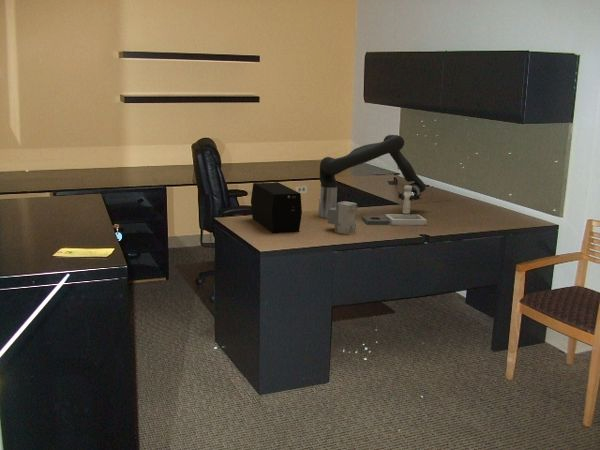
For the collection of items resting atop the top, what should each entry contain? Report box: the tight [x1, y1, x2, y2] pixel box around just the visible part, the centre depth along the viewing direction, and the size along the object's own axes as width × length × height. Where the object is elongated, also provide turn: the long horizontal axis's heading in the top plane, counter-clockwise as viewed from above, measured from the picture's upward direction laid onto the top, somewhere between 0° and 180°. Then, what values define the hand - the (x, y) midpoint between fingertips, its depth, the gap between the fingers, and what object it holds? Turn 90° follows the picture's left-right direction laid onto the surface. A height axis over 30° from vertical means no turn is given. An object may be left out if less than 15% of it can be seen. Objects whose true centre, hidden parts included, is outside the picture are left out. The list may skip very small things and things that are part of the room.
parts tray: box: [384, 213, 428, 226], centre depth 365 cm, size 20×14×3 cm
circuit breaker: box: [327, 200, 358, 235], centre depth 340 cm, size 8×14×15 cm, turn 56°
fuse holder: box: [361, 215, 390, 226], centre depth 363 cm, size 12×12×2 cm
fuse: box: [402, 184, 412, 214], centre depth 363 cm, size 4×4×15 cm
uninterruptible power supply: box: [250, 181, 303, 235], centre depth 344 cm, size 16×34×20 cm, turn 23°
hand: (406, 198), depth 360 cm, fingers closed on fuse, 3 cm apart
